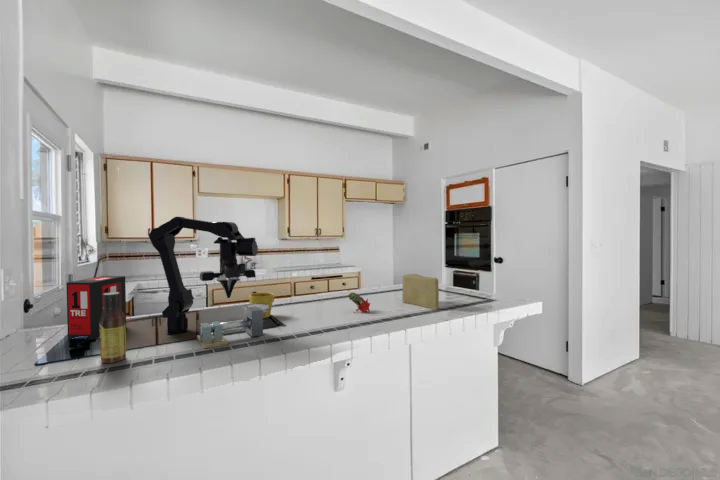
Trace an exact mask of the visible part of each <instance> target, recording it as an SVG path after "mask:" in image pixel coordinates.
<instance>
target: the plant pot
mask: <svg viewBox="0 0 720 480" xmlns="http://www.w3.org/2000/svg"><path fill="white" fill-rule="evenodd" d="M273 303H275V294H274V293H273V292H256V293H255V292H254V293H252V294H249V304H250V305H255V304H264V305H267V306H269V310H268V311H267V312H264V313H263V319H266V318H269V317H271V311H272V307H273Z"/></svg>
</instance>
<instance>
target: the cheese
mask: <svg viewBox="0 0 720 480" xmlns="http://www.w3.org/2000/svg"><path fill="white" fill-rule="evenodd" d="M439 290H440V288H439V279H438V278H437V277H432V276H431V277H429V276H425V275H424V276H423V275H420V274H416V273H410V274H404V275H402V303H405V304H410V305H413V306H418V307H423V308H425V309H431V310H439V303H440V302H439V299H440V298H439V296H440V295H439V294H440V293H439Z"/></svg>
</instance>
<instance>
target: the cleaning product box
mask: <svg viewBox="0 0 720 480" xmlns="http://www.w3.org/2000/svg"><path fill="white" fill-rule="evenodd" d="M65 285H66V317H67V318H66V319H67V340H68V341H71V340H70V339H72V338H75V337H78V336H88V337H91V338H97V339H99V338H98V337H100V332H99V321H100V318H101V315H102V312H103V310H104V300H103V294H104V293H110V292H119V293H120V298H119V305H120V307H119V308H120V309H121V311H122V312H123V313H124V315H125V328H127V314H126V313H127V311H126V310H127V309H126V308H127V305H126V304H127V303H126V302H127V301H126V300H127V298H126V296H127V295H126V276H125V275H121V276H120V275H118V276H117V275H101V276H97V277H91V278H90V277H89V278H85V279H80V280H73V281H67V282H66V283H65Z"/></svg>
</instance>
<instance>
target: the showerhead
mask: <svg viewBox="0 0 720 480" xmlns="http://www.w3.org/2000/svg"><path fill="white" fill-rule="evenodd" d="M244 306H245V307H253V306H257V307H259V308H260V309H262V310H263V313H264V312H267V311H268V310H269V306H267V305H264V304H255V305H251V304H249V305H248V304H244ZM244 313H246V310H245V309H244Z"/></svg>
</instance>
